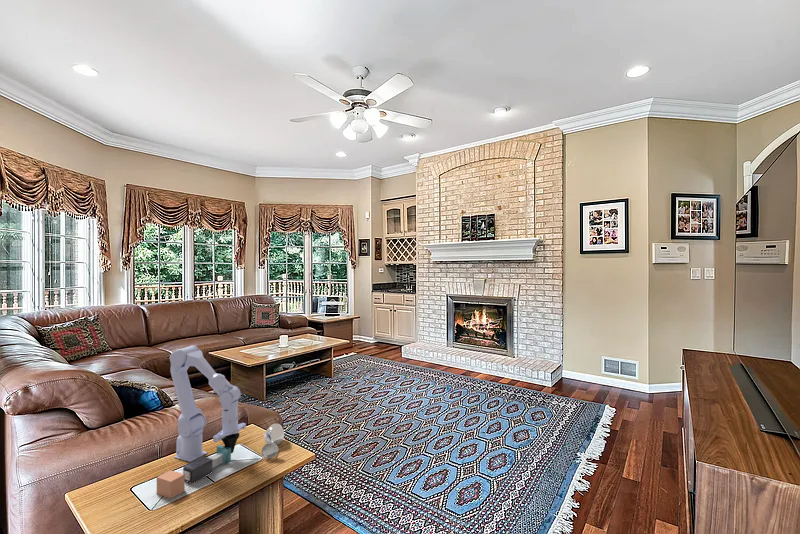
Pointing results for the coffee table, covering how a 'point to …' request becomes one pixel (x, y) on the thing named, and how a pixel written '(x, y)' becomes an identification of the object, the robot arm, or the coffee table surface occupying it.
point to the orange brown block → (170, 483)
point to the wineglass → (272, 440)
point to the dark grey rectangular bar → (199, 468)
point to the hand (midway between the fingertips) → (230, 452)
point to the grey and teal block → (215, 459)
